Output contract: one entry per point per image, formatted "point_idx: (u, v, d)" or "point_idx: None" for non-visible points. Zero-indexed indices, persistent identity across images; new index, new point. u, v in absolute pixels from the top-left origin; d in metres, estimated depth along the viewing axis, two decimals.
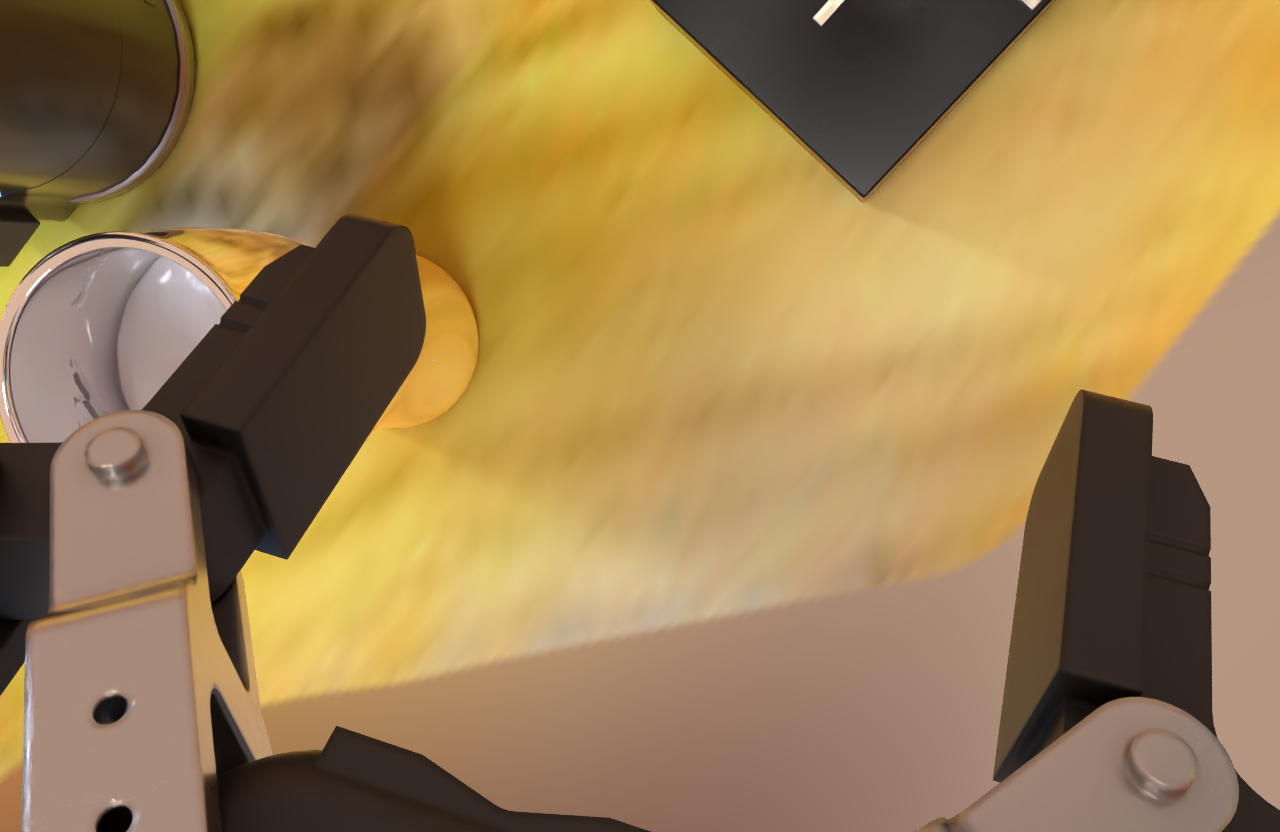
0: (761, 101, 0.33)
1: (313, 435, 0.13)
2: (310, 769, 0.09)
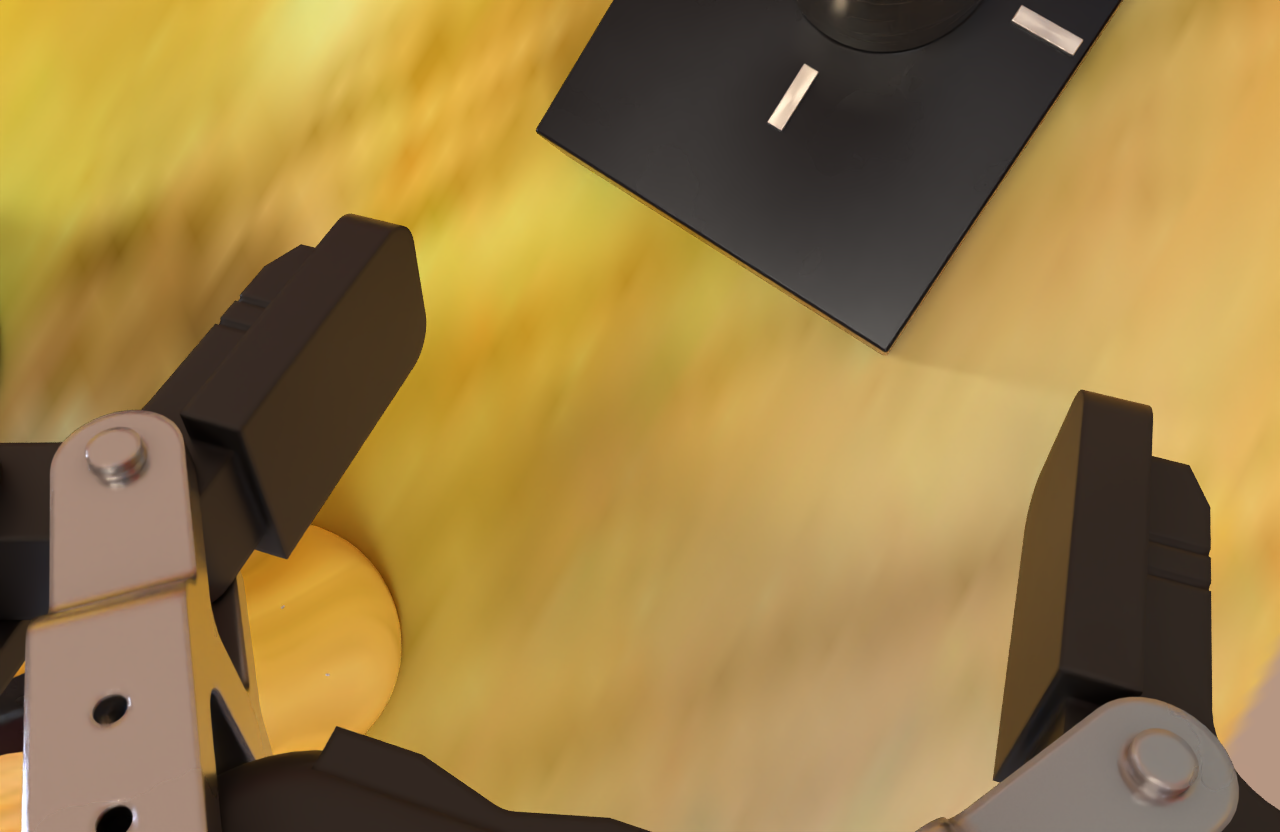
0: (718, 245, 0.24)
1: (313, 436, 0.13)
2: (311, 769, 0.09)
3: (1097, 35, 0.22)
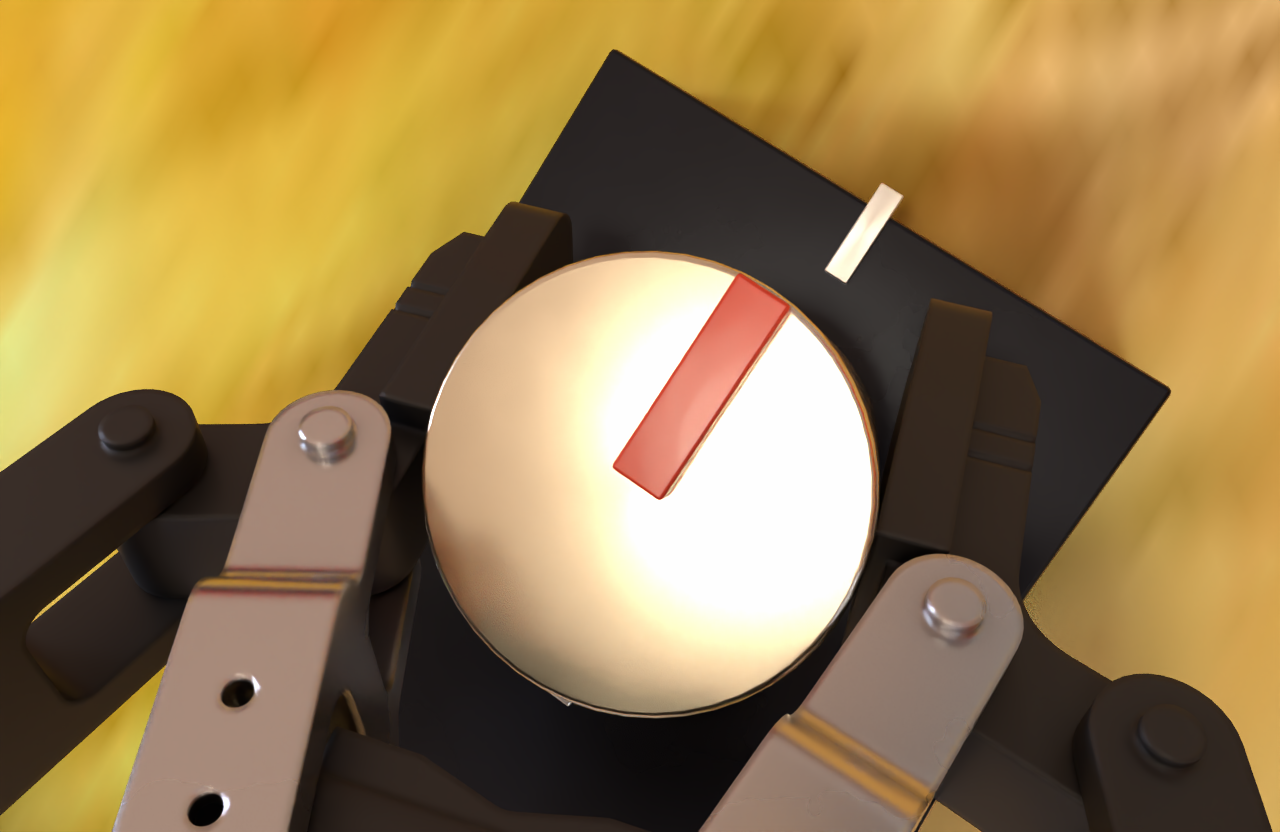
0: None
1: None
2: None
3: None
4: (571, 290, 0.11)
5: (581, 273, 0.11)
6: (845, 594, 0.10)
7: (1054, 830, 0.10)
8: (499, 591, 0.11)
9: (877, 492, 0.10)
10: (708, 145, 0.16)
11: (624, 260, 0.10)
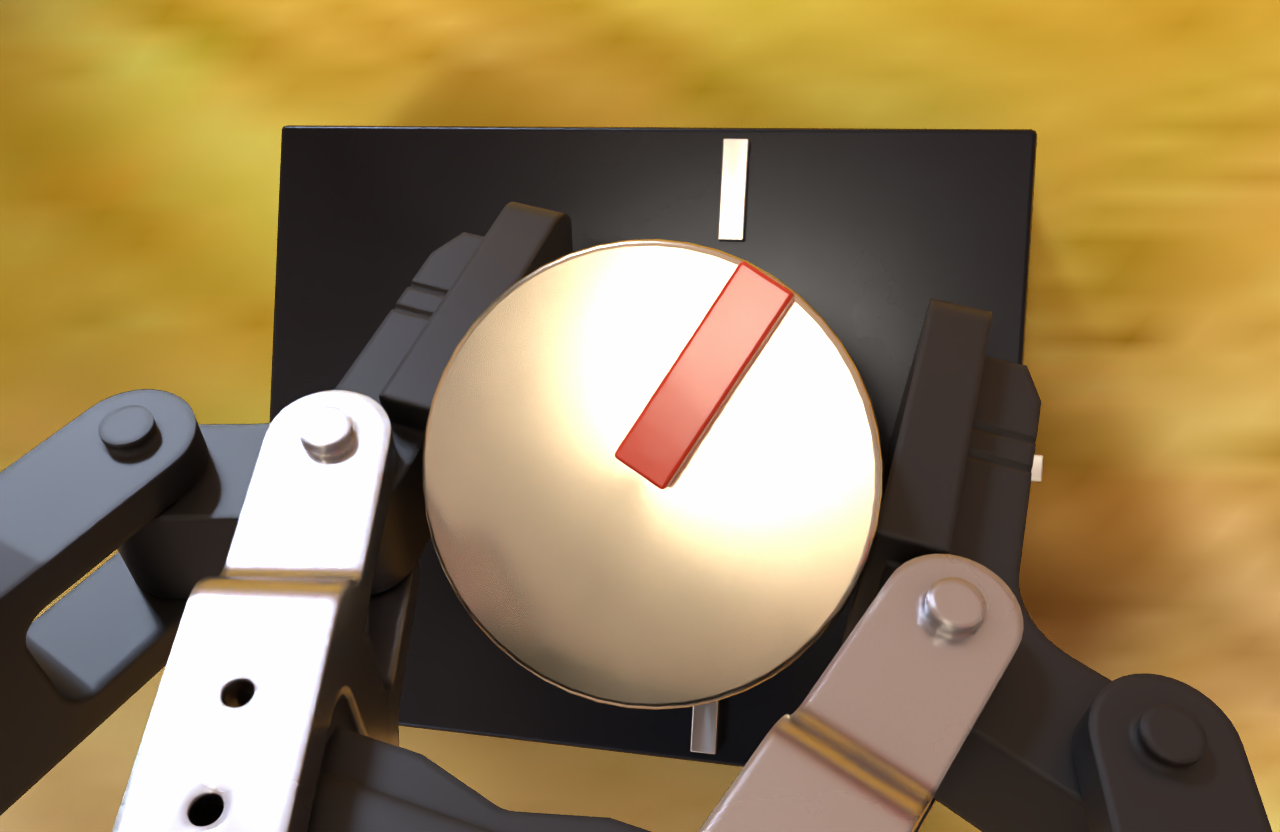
0: None
1: None
2: None
3: (734, 764, 0.16)
4: (573, 279, 0.11)
5: (583, 261, 0.11)
6: (848, 584, 0.10)
7: (1054, 830, 0.10)
8: (500, 581, 0.11)
9: (880, 481, 0.10)
10: (990, 276, 0.15)
11: (626, 248, 0.10)
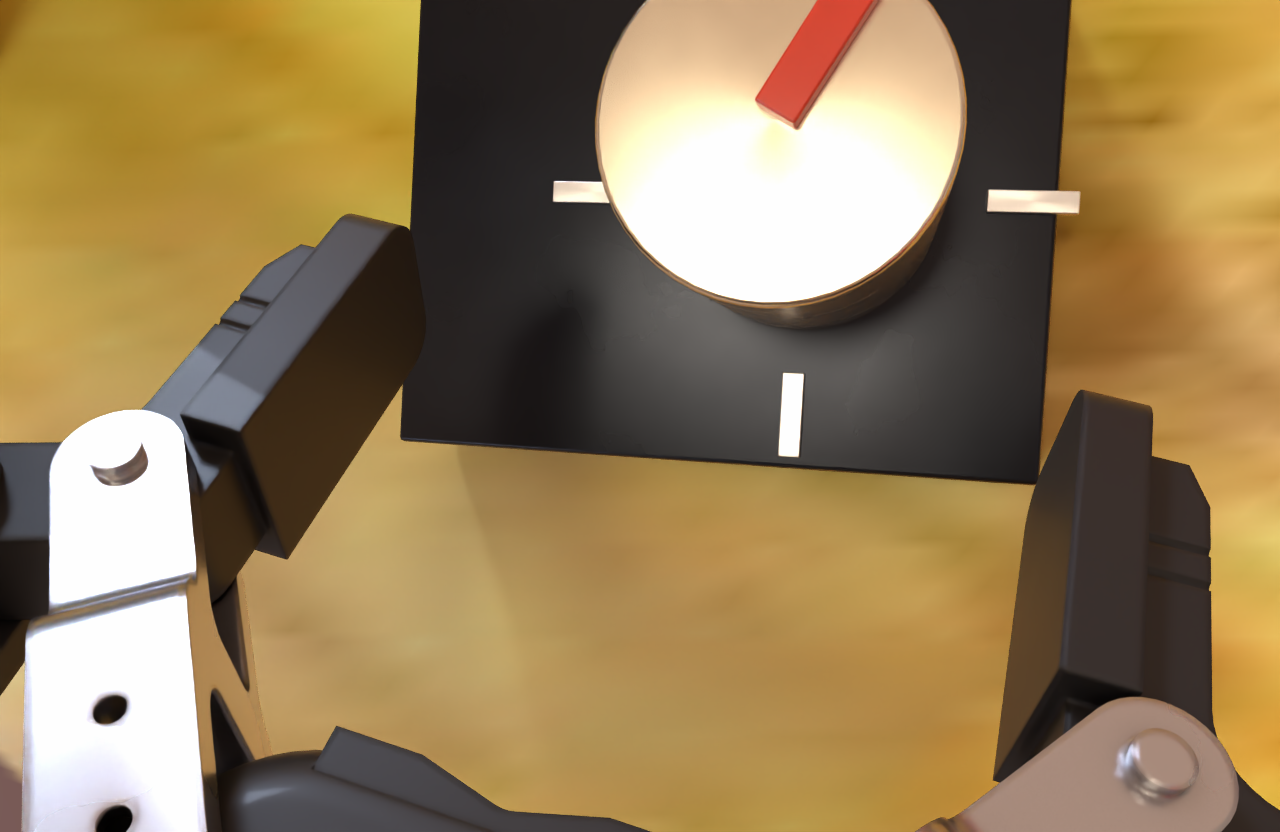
0: (412, 207, 0.20)
1: (314, 436, 0.13)
2: (310, 769, 0.09)
3: (815, 468, 0.19)
4: None
5: None
6: (940, 195, 0.13)
7: None
8: (660, 213, 0.14)
9: (965, 111, 0.13)
10: (1036, 43, 0.18)
11: None
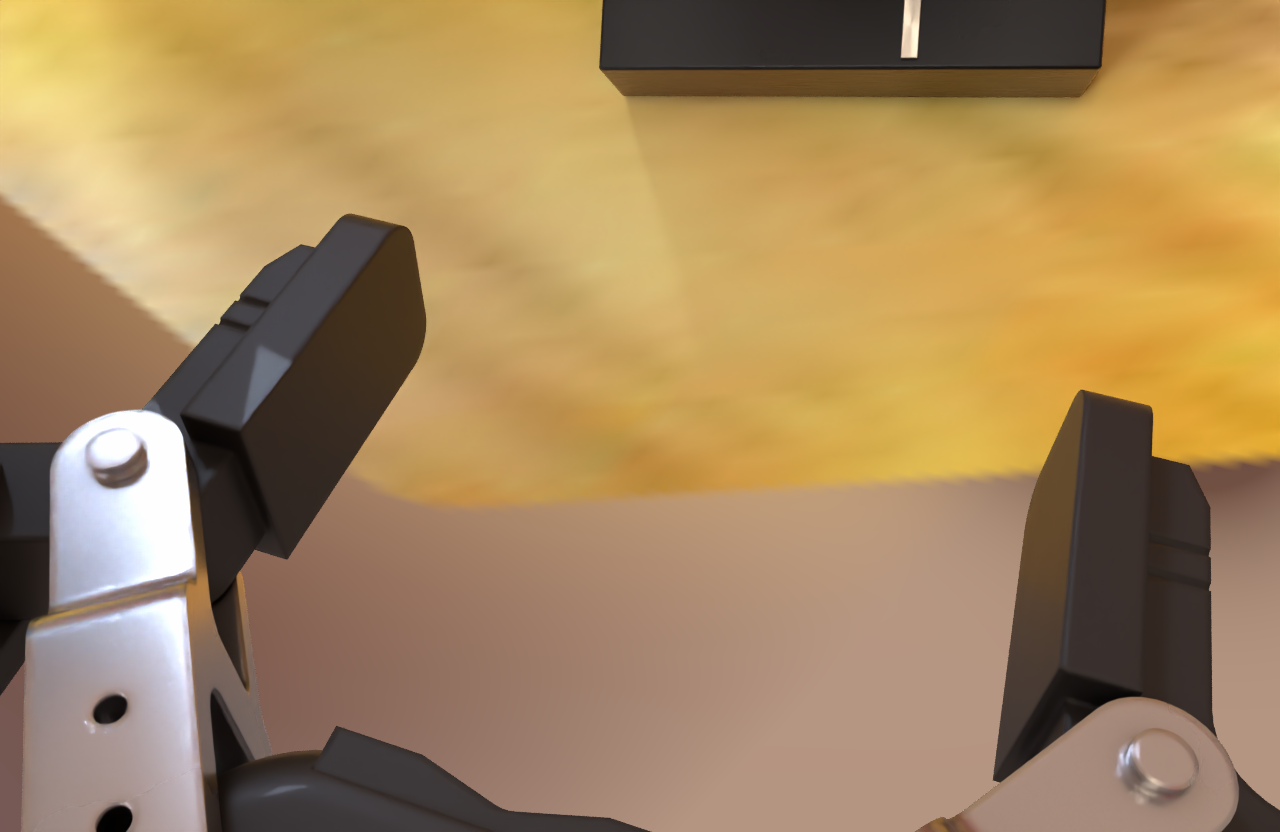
0: None
1: (313, 436, 0.13)
2: (310, 769, 0.09)
3: (928, 68, 0.25)
4: None
5: None
6: None
7: None
8: None
9: None
10: None
11: None
